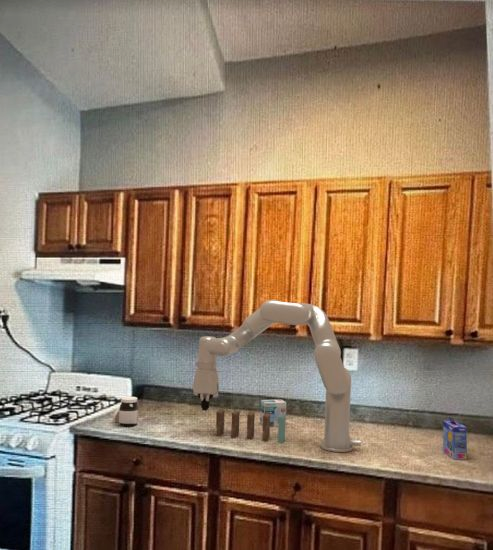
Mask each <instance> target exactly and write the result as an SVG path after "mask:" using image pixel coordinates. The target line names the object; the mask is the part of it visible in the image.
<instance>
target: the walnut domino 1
mask: <svg viewBox="0 0 493 550" xmlns="http://www.w3.org/2000/svg"><path fill="white" fill-rule="evenodd" d="M225 411H226V410H225V409H224V408H223V409H222V408H220V409H219V410H217V411H216V422H215V423H216V424H215V437H222V436H223V435H224V434H225V414H226V412H225Z"/></svg>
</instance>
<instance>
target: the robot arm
mask: <svg viewBox="0 0 493 550" xmlns="http://www.w3.org/2000/svg"><path fill="white" fill-rule="evenodd" d="M260 305H261V306H260V307H259V308H258V309H257V310H255V311H254V312H252V313H251V314H250V315H248V316H247V317H246V318H245V319H244V320H243V323H242V324H241V325H240V326H239V327H238V328H236V329H235V330H234V331H233V332H231V333H230V334H228V335H227V336H224V337H220V338H219V337H218V338H216V336H207V335H206V336H201V337H200V338H199V343H198V361H197V362H196V361H195V364H194V365H195V366H197V368H196V369H195V371H194V378H193V383H192V391H193V393H192V394H193V395H194V396H197V397H198V398H199V399H200V401H201V404H200V405H201V410H202V411H205V412H207V411H208V410H209V408H210V401H211V399H212V398H218V397H219V386H220V385H219V381H220V379H219V372H218V369H217V356H219V357H227V356H229V355H231V354H234V353H237V352H238V351H239V350H240V349H241V348H243V347H245V346H246V345H247V344H248V343H249V342H251V341H252V340H253V339H255V338H257V337H258V336H259V335H260V334H261V333H263V332H264V331H266V330H267V329H268V328H270V327H271V326H273V325H274V324H275V323H276V324H283V325H290V326H304V325H307V326H308V327H309V329H310V334H311V336H312V339H313V342H314V345H315V349H314V351H313V353H314V354H313V355H314V361H315V364H316V367H317V369H318V372H319V375H320V378H321V381H322V384H323V386H324V389H325V407H324V440H322V441H321V442H320V444H319V446H320V448H321V449H323V450H326V451H329V452H333V453H348V452H351V451H352V450H354V446H356V447H361V446H362V441H361V440H358V439H356V438H355V439H353V438H351V435H350V425H351V423H350V422H351V421H350V418H351V417H350V416H351V389H352V377H351V376H352V375H351V373H350V371H349V370H348V369H347V368H346V367H345V366H344V363H343V360H342V358H341V354H342V351H341V348H340V346H339V344H338V343H339V342H338V340H337V338H336V334H335V332H334V330H333V327H332V325H331V323H330V319H329V317H328V315H327V314H326V313H325V311H324V310H323V309H321V308H320V307H319V306H317V305H314V304H311V303H304V302H300V303H296V302H288V301H287V302H286V301H280V300H277V299H267V300H266V301H264V302H263V303H262V304H260Z"/></svg>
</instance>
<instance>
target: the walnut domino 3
mask: <svg viewBox="0 0 493 550" xmlns="http://www.w3.org/2000/svg"><path fill="white" fill-rule="evenodd" d="M255 414H256V412H255V411H249V412H248V413H247V415H246V418H247V419H246V440H249V439H250V440H253V438H255V417H256V415H255ZM250 440H249V441H250Z"/></svg>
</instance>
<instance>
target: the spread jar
mask: <svg viewBox="0 0 493 550" xmlns="http://www.w3.org/2000/svg"><path fill="white" fill-rule="evenodd" d="M120 402H121V403H120V405H119V407H117V408H116V410H115V411H114V412H113V414H112V421H113V422H115V423H118V424H119V426H120V427H124V428H134V427H136V426H137V425H138V423H139V403H138V397H136V396H122V397H121V401H120Z"/></svg>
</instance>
